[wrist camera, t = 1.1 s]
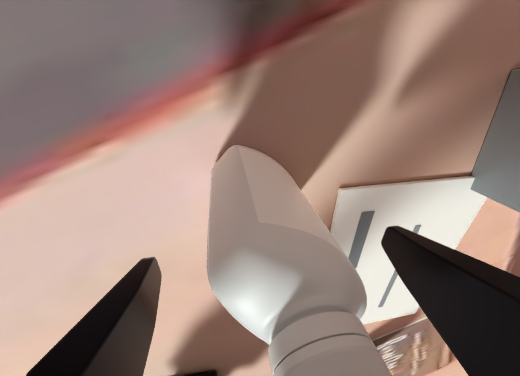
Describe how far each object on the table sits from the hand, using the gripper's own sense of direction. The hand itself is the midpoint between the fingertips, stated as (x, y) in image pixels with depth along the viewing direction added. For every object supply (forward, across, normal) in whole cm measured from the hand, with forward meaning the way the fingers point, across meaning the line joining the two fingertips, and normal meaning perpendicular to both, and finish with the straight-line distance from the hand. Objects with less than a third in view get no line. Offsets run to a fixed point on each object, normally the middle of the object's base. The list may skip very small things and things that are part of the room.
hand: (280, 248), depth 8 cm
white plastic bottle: (+6, 0, 0) cm, 6 cm away
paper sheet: (+5, -12, +10) cm, 16 cm away
